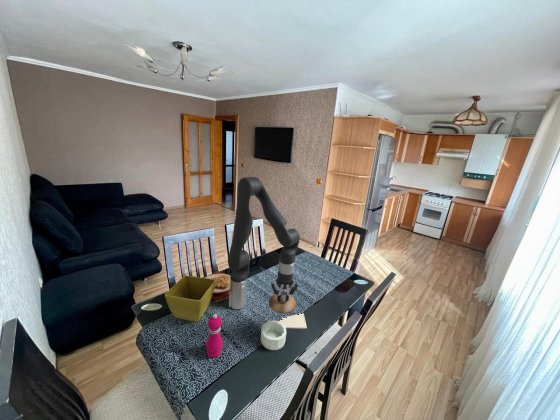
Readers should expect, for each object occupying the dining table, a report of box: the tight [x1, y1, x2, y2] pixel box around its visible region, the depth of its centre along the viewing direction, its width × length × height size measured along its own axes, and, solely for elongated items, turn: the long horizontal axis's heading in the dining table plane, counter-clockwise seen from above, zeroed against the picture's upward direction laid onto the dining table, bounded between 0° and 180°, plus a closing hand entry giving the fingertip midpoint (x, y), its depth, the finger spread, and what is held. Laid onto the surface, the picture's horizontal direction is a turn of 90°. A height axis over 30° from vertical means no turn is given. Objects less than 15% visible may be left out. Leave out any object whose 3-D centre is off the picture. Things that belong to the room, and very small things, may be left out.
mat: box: [278, 312, 308, 330], centre depth 126 cm, size 15×15×1 cm
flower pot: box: [164, 275, 215, 323], centre depth 121 cm, size 19×19×17 cm
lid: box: [268, 290, 297, 314], centre depth 111 cm, size 14×14×6 cm
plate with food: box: [200, 270, 231, 300], centre depth 144 cm, size 24×26×4 cm
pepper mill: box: [205, 313, 224, 358], centre depth 99 cm, size 7×7×20 cm
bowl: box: [260, 320, 287, 351], centre depth 110 cm, size 12×12×6 cm
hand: (282, 300), depth 111 cm, fingers closed on lid, 3 cm apart
